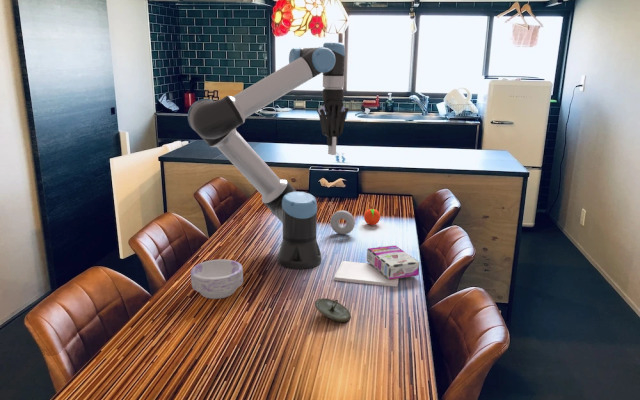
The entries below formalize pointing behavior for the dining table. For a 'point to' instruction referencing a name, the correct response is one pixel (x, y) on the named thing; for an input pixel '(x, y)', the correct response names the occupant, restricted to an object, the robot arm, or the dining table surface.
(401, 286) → the dining table surface
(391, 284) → the cutting board
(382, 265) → the candy bar box
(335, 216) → the donut
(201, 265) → the paper bowls
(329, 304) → the lid
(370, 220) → the clementine
